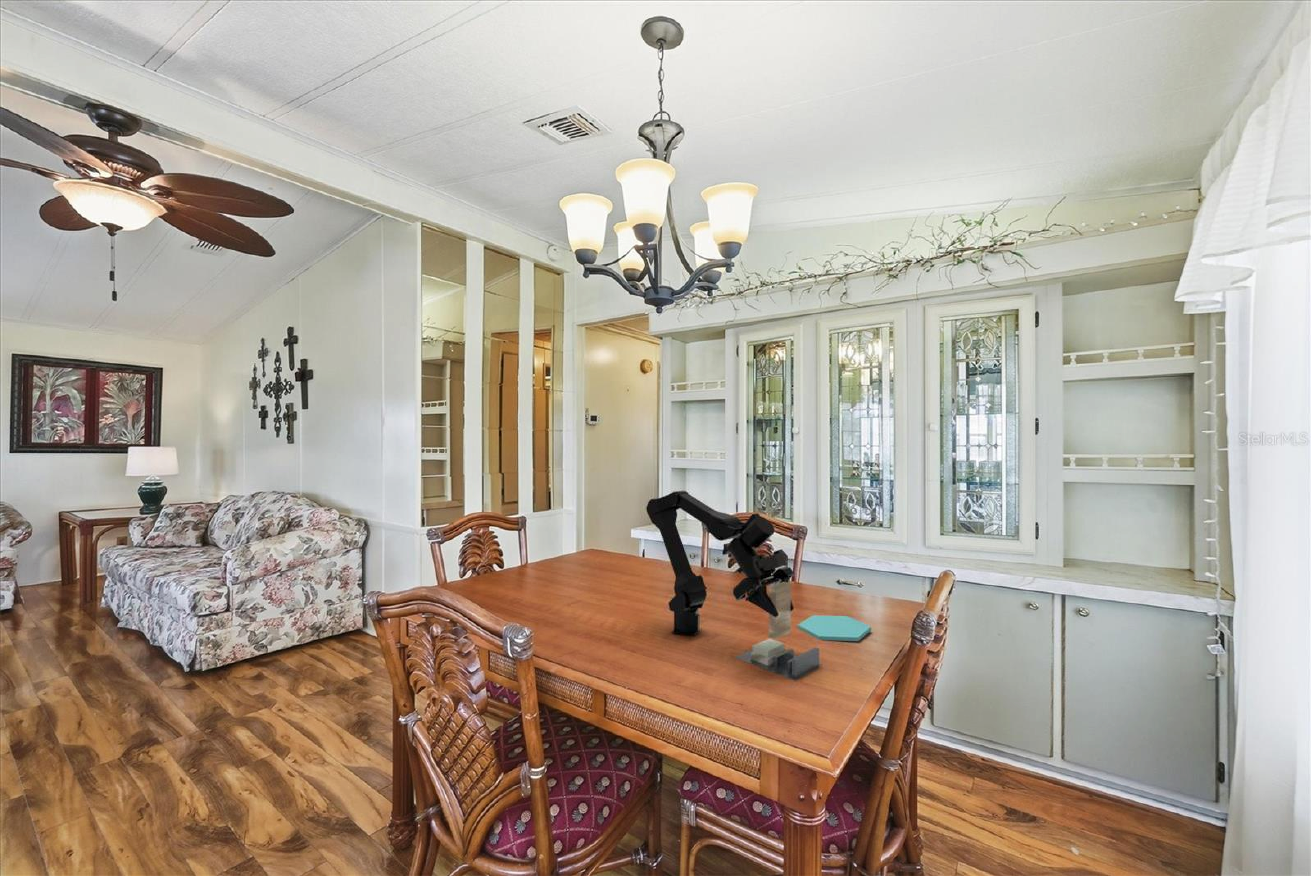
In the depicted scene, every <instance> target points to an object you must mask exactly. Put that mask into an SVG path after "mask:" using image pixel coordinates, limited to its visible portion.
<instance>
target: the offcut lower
mask: <svg viewBox="0 0 1311 876" xmlns="http://www.w3.org/2000/svg"><path fill="white" fill-rule="evenodd" d="M786 650H787V649H785V650H783V651H780V652H778V653H776V654H774V655H772V656H770V657H766V656H763V655H760V654H757V653H755V652H752V653H751V660H754V661H757V662H759V663H762V664H765V665H767V666H769V665H771V664H773V663H774V656H776V655H778V654H780V653H782V652H784V651H786Z"/></svg>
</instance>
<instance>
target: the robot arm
mask: <svg viewBox="0 0 1311 876" xmlns="http://www.w3.org/2000/svg"><path fill="white" fill-rule="evenodd" d="M680 509H681V510H682V511H683V512H685V513H686V514H689V516H691V517H693V518H694V519H696V521H697V520H698V521H699V522H700V523H702V524H703V525H704V526H705V527H706V529H707V532H708V533H709V534H710V535H711V536H713V537H714V539H716V540H717V541H726V540H731V541H730V542H728V543H724V544H723V549H722V551H721V552H722V555H723V556H726V555H729V554H731V557H732V558H733V559H734V560H735V562H736V564H737V565H738V566H739V568H738V569H737V572H738V574H742V573H743V574H744V576H745V577H744V578H742V580H740V581H739V582H738V583H737V585H736V586H734V588H733V589H732V595H733V597H734V598H735V600H736V601H737V602H738V601H742V600H745V602H749V603H750V604H753V605H755V606H756V607H758V608H760V609H761V610H763V611H765V612H766V613H768V615H769V614H771V615H772V616H774V617H777V616H778V615H779V614H778V612H777V610H776V608H775V606H774V605H773V603H772V601H771V600H770V598H769V595H768V591H767V589H768V588H767V586H772V585H776V584H779V583H782V582H786V583H789V582H790V580H791V579H792V578H793V576H794V575H795V572H794V570H792V567H790V566H789V567H788V563H787V562H788V559H789V556H788V554H786V552H785V551H784V549H781V548H780V549H777V550H774V551H772V552H773V554H771V555H769V556H765V554H762V553H761V554H759V553H758V552H757V550H756V548H757V549H758V548H760V547H762V546H763V544H765V543H766V542H767V540H769V539H770V538H771V536H773V534H774V533H775V527H774V525H773V523H772V522H771V521H769V520H768V519H766V518H765V517H763V516H761V515H760V514H759V513H757V512H756V513H752V514H751V515H750V516H749V518H748V519H747V520H746V522H744V521H741V520H740V518H738V517H737V516H734V515H732V514H729V513H726V512H720V511H719V510H718V511H717V510H715V509H714V508H711V507H710V506H709V505H707V504H706V503H704V502H702V501H700V500H699V499H697V498H696V497H694V496H693V495H691V494H689V492H688V491H686V490H677V491H672V492H671V493H669V494H667V495H664V496H661V497H659V498H658V497H657V498H651V499H649V500H648V501H647V505H646V512H647V515H648V517H649V520H650V522H651V523H652V524H653V525H654V526H655V527H656V528H657V529H658V530H659V532H660V534H661V538H662V541H663V544H664V547H665V550H666V552H667V556H668V559H669V561H670V564H671V567H672V570H673V573H674V576H675V580H674V586H673V590H674V596H673V597H672V598H671V599H670V601H669V602H668V607H669V611H670V612H672V613H673V630H672V632H671V633H672V634H674V635H683V636H684V635H685V636H691V637H692V636H693V637H694V636H696V635H697V633H698V632H699V631H700V629H701V627H700V625H701V623H700V622H701V615H700V614H699V609H703V605H704V603H705V601H706V599H707V589H708V587H707V585H705V582H704V578H703V576H702V575H701V574H700V575H697V574H696V573H694V572H693V569H692V567H691V564H690V562H689V558H688V555H687V553H686V550H685V547H684V545H683V541H682V538H681V535H680V533H679V530H678V528H677V527H678V526H677V518H678V512H677V511H678V510H680ZM782 566H783V567H782ZM746 595H747V597H746ZM790 611H791V612H792V611H794V604H793V602H792V600H791V610H790Z"/></svg>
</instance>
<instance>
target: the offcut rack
mask: <svg viewBox="0 0 1311 876" xmlns="http://www.w3.org/2000/svg"><path fill="white" fill-rule="evenodd" d="M785 650H786V651H784V652H782V653H780V654H778V655H776V656H774V663H773V664H771V665H769V666H767V665H765V664H762V663H759V662H757V661H754V660H751V653H752V652H753V648H752V649H750V650H748V651H746V652H744V653H741V654H739V655H736V656H735V657H734V658H735V659H737V660H740V661H742V662H746V663H748V664H751V665H753V666H755V667H757V668H760V669H764V670H766V671H769V672H771V673H773V674H777V675H779V676H781V677H785V678H787V679H790V680H792V681H797V680H800V679H801V678H802V677H805V676H807V675H808V674H810V673H812V672H813V671H815V670H817V669H819V668H820V667H823V665H824V664H821V663H820V648H818V647H814V648H812V649H809V650H807V651H805V652H802V653H801V654H799V655H795V654H794V648H789V649H785Z"/></svg>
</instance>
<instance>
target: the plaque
mask: <svg viewBox="0 0 1311 876" xmlns="http://www.w3.org/2000/svg"><path fill="white" fill-rule="evenodd" d="M797 628H798V629H800V630H801V631H803V632H804V633H807V634H809V635H810V636H812V637H813V638H815V639H817V640H819V641H837V642H839V641H842V642H847V641H848V642H859V641H861V640H862V638H864V637H865V636H866V635H868V633H870V632H871V631H872V626H871V625H868V624H866V623H863V622H861V621H859V620H857V619H855V618H852V617H850V616H848V615H816V614H815V615H811V616H810V617H808V618H807V619H805V620H804V621H802V622H800V623H798V624H797Z"/></svg>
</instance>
